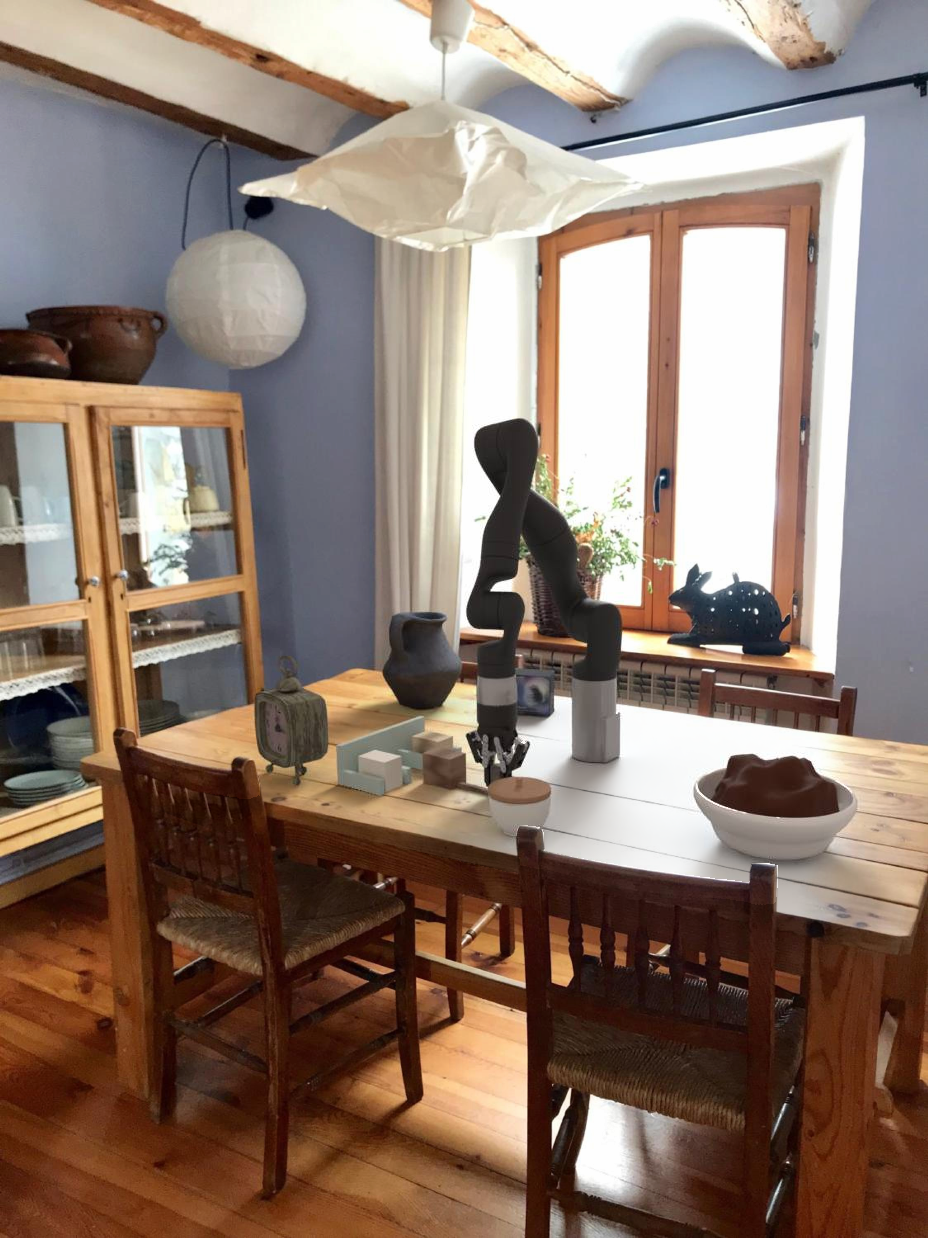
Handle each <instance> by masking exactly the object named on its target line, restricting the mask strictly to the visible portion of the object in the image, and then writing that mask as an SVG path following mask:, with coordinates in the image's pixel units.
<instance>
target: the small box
mask: <svg viewBox="0 0 928 1238" xmlns="http://www.w3.org/2000/svg"><path fill="white" fill-rule="evenodd" d="M516 682H517V716H527V717H528V716H531V717H540V718H541V717H543V718H550V717H551V716H552V715H553V713H554V712H555V670H554V669H553V670H552V669H539V668H538V669H537V668H522V667H521V668H519V667H516Z"/></svg>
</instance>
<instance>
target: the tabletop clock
mask: <svg viewBox="0 0 928 1238" xmlns="http://www.w3.org/2000/svg"><path fill="white" fill-rule="evenodd" d="M283 659H286V660H287V659H288V660H289V661H291V662H292V664H293V667H294V672H293V673H291V672H292V671H291V668H286V669H285V670H284V668H282V667H283V666H282V664H281V662H282V660H283ZM277 661H278V663H277V665H278V668H279V671H280V672H281V673H282V674H283V675H284V676H285V677H283V678H280V679H279V680H278V682H277V683H276V685H275V688H274V689H270V690H269V689H268V690H264V691H259V692H257V693H255V695H254V705H253V706H254V707H253V709H254V727H255V737H256V738H255V739H256V745H257V749H258V753H259V755H260V756H261V757H262V758H263V759H264V760H265V761H268V763H270V764H267V765H266V766H265V771H266V772H267V773H269V772H270V773H272V772H274V771H275V770H274V769H275V768H274V766H277V767H280V768H283V769H287V768H292V767H294V772H295V773H294V775H295V776H294V777H293V779H292V781H291V782H292V785H294V786H295V785H297V786H299V785H301V782H302V781H301V778H300V777H299V775H300V774H301V773H305V774H306V773H307V772H308V767H307V766H305V765H304V764H308V763H311V762H312V763H313V762H315V761H319V760H323V758H324V757H325V756H326V755H327V753H328V750H329V721H328V708H327V703H326V699H325V698H324V697H323V696H322V695H321V694H319V693H315V692H314V691H312V690H309V689H307V688H304V687H302V684H301V682H300V680H298V678H296V677H295V676H296V674H297V672H298V666H297V665H298V664H297V662H296V660H295V659H294V658H293V657H292V656H291V655H288V654H282V655H280V656H279V658H278V660H277Z"/></svg>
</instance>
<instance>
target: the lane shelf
mask: <svg viewBox="0 0 928 1238" xmlns="http://www.w3.org/2000/svg"><path fill="white" fill-rule="evenodd" d="M425 719H426V718H425V716H423V715H418V716H416V717H413V718H409V719H408V720H404V721H402V722H399V723H397V724H393V725H390V726H387V727H385V728H381V729H379V730H376V731H373V732H370V733H367V734H365V735H362V736H359V737H356V738H353V739H350V740H347V741H343V742H341V743H339V744H336V745H335V748H336V767H337V768H336V770H337V785H338V784H340V785H339V786H342V785H345V786H348V787H347V788H349V787H352V788H351V789H353V788H355V789H354V790H356V789H358V790H357V791H360V790H362V791H361V792H363V791H365V792H364V793H367V792H369V793H368V794H371V793H372V795H374V794H376V795H375V796H378V797H380V796H384V795H385V792H384V779H381V778H377V777H374V776H370V775H366V774H362V773H359V764H358V756H360V755H363V754H365V753H368V752H371V751H374V750H377V751H382V752H386V753H390V754H395V755H399V756H402V784H406V785H409V784H411V783H412V782H413V779H412V777H413V774H412V769H416V770H419V771H423V754H421V753H417V752H413V748H412V736H414V735H417V734H419V733H422V732H425V731H426V729H425V728H426V727H425V724H426V723H425V721H426V720H425ZM462 748H463V747H462V746H457V745H454V744H453V750H454V751H458V752H463V751H462ZM345 786H344V787H345Z"/></svg>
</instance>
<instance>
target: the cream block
mask: <svg viewBox="0 0 928 1238" xmlns="http://www.w3.org/2000/svg"><path fill="white" fill-rule="evenodd" d="M358 764H359V773H362V774H366V775H370V776H374V777H377V778H381V779H384V793H388V792H390V791H392V790H393V791H394V790H395V789H396V788H399V787H402V786H403V783H402V766H403V765H402V756H399V755H395V754H390V753H386V752H382V751H377V750H374V751H371V752H368V753H365V754H363V755H360V756H358Z"/></svg>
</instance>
